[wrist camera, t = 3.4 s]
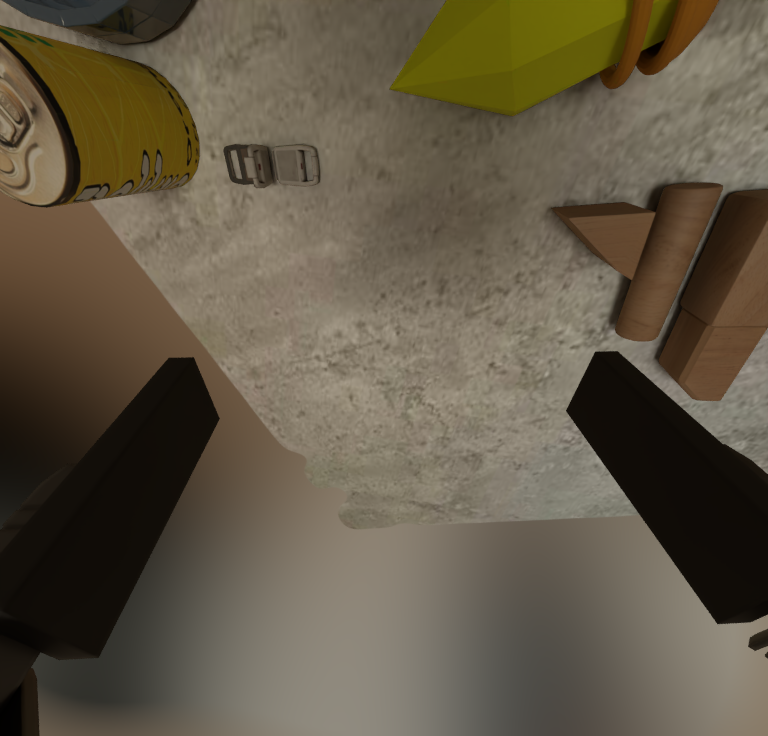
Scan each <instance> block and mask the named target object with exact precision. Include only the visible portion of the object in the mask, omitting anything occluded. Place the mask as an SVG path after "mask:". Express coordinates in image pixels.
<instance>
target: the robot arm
mask: <svg viewBox="0 0 768 736" xmlns="http://www.w3.org/2000/svg"><path fill="white" fill-rule="evenodd" d="M566 412H567V413H568V414H569V416H570V417H571V419H572V420H573V421H574V423H575V424H576V426H577V427H578V428H579V430H580V431H581V433H582V434H583V435H584V437H585V438H586V440H587V441H588V443H589V444H590V445H591V447H592V448H593V450H594V451H595V452H596V454H597V455H598V457H599V458H600V459H601V461H602V462H603V464H604V465H605V466H606V468H607V469H608V471H609V472H610V473H611V475H612V476H613V478H614V479H615V480H616V482H617V483H618V485H619V486H620V488H621V489H622V490H623V492H624V493H625V495H626V496H627V497H628V499H629V500H630V502H631V503H632V504H633V506H634V507H635V509H636V510H637V511H638V513H639V514H640V516H641V517H642V518H643V520H644V521H645V523H646V524H647V525H648V527H649V528H650V530H651V531H652V532H653V534H654V535H655V537H656V538H657V540H658V541H659V542H660V544H661V545H662V547H663V548H664V549H665V551H666V552H667V554H668V555H669V556H670V558H671V559H672V561H673V562H674V563H675V565H676V566H677V568H678V569H679V571H680V572H681V573H682V575H683V576H684V578H685V579H686V580H687V582H688V583H689V585H690V586H691V587H692V589H693V590H694V592H695V593H696V594H697V596H698V597H699V599H700V600H701V602H702V603H703V604H704V606H705V607H706V608H707V610H708V611H709V613H710V614H711V616H712V617H713V618H714V619H715V621H716V623H717V624H726V623H727V624H728V623H745V622H752V621H754V620H757V619H759V618H761V617H763V616H765V615H768V474H767V473H766V472H764V471H763V470H762V469H761V468H760V467H759V466H757V465H756V464H755V463H754V462H753V461H752V460H750V459H749V458H747V457H745V456H744V455H742V454H740V453H739V452H737V451H735V450H734V449H732V448H730V447H729V446H727V445H726V444H722V443H721V442H720V441H719V440H717V439H716V438H715V437H714V436H713V435H712V434H711V433H709V432H708V431H707V430H706V429H705V428H704V427H703V426H702V425H700V424H699V423H698V422H697V421H696V420H695V419H694V418H692V417H691V416H690V415H689V414H688V413H687V412H686V411H685V410H683V409H682V408H681V407H680V406H679V405H678V404H677V403H675V402H674V401H673V400H672V399H671V398H670V397H669V396H668V395H666V394H665V393H664V392H663V391H662V390H661V389H660V388H658V387H657V386H656V385H655V384H654V383H653V382H652V381H651V380H649V379H648V378H647V377H646V376H645V375H644V374H643V373H641V372H640V371H639V370H638V369H637V368H636V367H635V366H634V365H632V364H631V363H630V362H629V361H628V360H627V359H626V358H624V357H623V356H622V355H621V354H620V353H619V352H618V351H607V352H595V353H594V355H593V357H592V359H591V361H590V363H589V366H588V368H587V370H586V372H585V374H584V376H583V378H582V380H581V382H580V384H579V386H578V388H577V390H576V392H575V394H574V396H573V398H572V400H571V402H570V404H569V406H568V408H567V410H566ZM219 419H220V418H219V416H218V414H217V411H216V409H215V407H214V404H213V402H212V399H211V397H210V395H209V392H208V390H207V388H206V385H205V383H204V380H203V378H202V376H201V374H200V371H199V369H198V366H197V364H196V362H195V359H194V357H192V358H168V360H167V361H166V362H165V363H164V364H163V365H162V366H161V368H160V369H159V370H158V371H157V372H156V373H155V375H154V376H153V377H152V378H151V379H150V380H149V381H148V383H147V384H146V385H145V386H144V387H143V388H142V390H141V391H140V392H139V393H138V394H137V396H136V397H135V398H134V399H133V400H132V401H131V403H129V405H128V406H127V407H126V408H125V409H124V410H123V412H122V413H121V414H120V415H119V416H118V418H117V419H116V420H115V421H114V422H113V423H112V424H111V426H110V427H109V428H108V429H107V430H106V431H105V433H104V434H103V435H102V436H101V437H100V438H99V440H98V441H97V442H96V443H95V444H94V445H93V446H92V448H91V449H90V450H89V451H88V452H87V453H86V454H85V456H84V457H83V458H82V459H81V460H80V462H79V463H78V464H67V465H65V466H64V467H63V468H61V469H60V470H58V471H57V472H56V473H54V474H53V475H51V476H50V477H49V478H47V479H46V480H45V481H43V482H42V483H41V484H40V485H39V486H38V487H37V488H36V489H35V490H34V491H33V492H32V494H31V495H30V496H29V497H28V498H27V499H26V500H25V501H24V502H23V504H21V508H20V509H19V510H16V511H15V512H14V513H13V514H12V515H11V516H10V517H9V519H8V520H7V521H6V522H5V523H4V524H3V528H2V529H1V530H0V736H39V716H38V692H37V678H36V675H35V672H34V670H33V668H31V666H32V665H33V663H34V662H35V660H36V658H37V657H38V655H39V654H40V652H41V653H44V654H46V655H48V656H51V657H54V658H56V659H58V660H66V659H84V658H99V656H100V654H101V652H102V650H103V648H104V646H105V644H106V642H107V640H108V638H109V636H110V634H111V632H112V630H113V628H114V626H115V624H116V622H117V620H118V618H119V616H120V614H121V612H122V611H123V609H124V606H125V604H126V603H127V601H128V599H129V597H130V594H131V593H132V591H133V589H134V586H135V585H136V583H137V581H138V579H139V577H140V575H141V573H142V571H143V569H144V567H145V565H146V563H147V561H148V559H149V557H150V555H151V553H152V551H153V549H154V547H155V545H156V543H157V541H158V539H159V537H160V535H161V534H162V531H163V530H164V527H165V526H166V524H167V522H168V520H169V518H170V516H171V514H172V512H173V510H174V508H175V506H176V504H177V502H178V500H179V498H180V496H181V494H182V492H183V490H184V488H185V486H186V484H187V482H188V480H189V478H190V476H191V474H192V472H193V470H194V468H195V466H196V464H197V462H198V460H199V458H200V457H201V454H202V453H203V451H204V449H205V446H206V444H207V443H208V441H209V439H210V437H211V435H212V433H213V431H214V429H215V427H216V425H217V423H218V421H219ZM766 646H768V629H767V630H764V631H762V632H759V633H757V634H755V635H754V636H752V637H750V640H749V645H748V647H750V648H751V649H753V650H755V651H756V650H758V649H761V648H763V647H766ZM765 657H766V658H768V652H767V653H766V654H765Z"/></svg>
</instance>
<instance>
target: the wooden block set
mask: <svg viewBox="0 0 768 736" xmlns="http://www.w3.org/2000/svg"><path fill="white" fill-rule="evenodd" d="M722 190H723V185H721V184H717V183H680V184H673V185H669V186H667V187H665V189H664V190H663V192H662V195H661V198H660V201H659V204H658V207H657V210H656V212H653V211H650V210H647V209H644V208H641V207H638V206H635V205H631V204H628V203H625V202H621V203H607V204H594V205H580V206H567V207H554V208H551V209H552V210H553V211H554V212H555V213H556V214H557V215H558V216H559V217H560V218H561V219H562V220H563V222H564V223H565V224H566V225H567V226H568V227H569V228H570V229H571V230H572V231H573V232H574V233H575V234H576V235H577V237H578V238H579V239H580V240H581V241H582V242H583V243H584V244H585V245H586V246H587V247H588V248H589V249H590V251H591V252H592V253H594V254H595V255H596V256H598V257H599V258H600V259H602V260H603V261H605V262H606V263H607V264H609V265H610V266H611V267H613V268H614V269H615V270H617V271H618V272H620V273H621V274H623V275H625V276H626V277H628V278H629V279H631V280H632V281H631V284H630V287H629V290H628V293H627V295H626V298H625V301H624V304H623V307H622V310H621V313H620V316H619V318H618V321H617V324H616V327H615V331H616V333H617V334H618V335H619V336H621V337H623V338H626V339H629V340H633V341H652V340H654V339H656V338H657V337H658V335H659V333H660V331H661V328H662V326H663V324H664V322H665V319H666V317H667V315H668V313H669V310H670V308H671V306H672V303H673V301H674V299H675V297H676V294H677V292H678V290H679V288H680V285H681V283H682V281H683V279H684V276H685V274H686V272H687V269H688V267H689V265H690V263H691V260H692V258H693V256H694V254H695V251H696V249H697V247H698V244H699V242H700V240H701V238H702V235H703V233H704V231H705V229H706V226H707V224H708V222H709V219H710V217H711V215H712V213H713V210H714V208H715V206H716V204H717V201H718V199H719V197H720V195H721V192H722ZM680 304H681V306H682V307H683V309H682V310H681V313H680V315H679V317H678V319H677V321H676V323H675V325H674V328H673V330H672V332H671V334H670V336H669V338H668V341H667V343H666V345H665V347H664V349H663V351H662V354H661V356H660V358H659V364H660V365H661V366H662V367H663V368H664V369H665V370H666V372H667V373H668V374H669V375H670V376H671V377H672V378H673V379H674V380H675V381H676V382H677V383H678V384H679V385H680V387H681V388H682V389H683V390H684V391H685V392H686V393H687V394H688V395H689V396H690V397H691V398H692V399H695V400H702V401H720V400H721V399H722V397H723V396H724V394H725V393H726V391H727V390H728V388H729V387H730V385H731V384H732V382H733V381H734V379H735V377H736V376H737V374H738V373H739V371H740V370H741V368H742V367H743V365H744V364H745V362H746V360H747V359H748V357H749V356H750V354H751V353H752V351H753V350H754V348H755V347H756V345H757V344H758V342H759V340H760V339H761V337H762V336H763V334H764V333H765V331H766V330H767V328H768V189H764V190H751V191H739V192H736V193H733V194H730V195H729V197H728V198H727V200H726V202H725V204H724V206H723V209H722V211H721V213H720V215H719V217H718V220H717V222H716V224H715V226H714V228H713V231H712V233H711V235H710V237H709V239H708V242H707V244H706V246H705V248H704V250H703V253H702V255H701V257H700V259H699V261H698V264H697V266H696V268H695V270H694V272H693V275H692V277H691V279H690V281H689V283H688V286H687V288H686V290H685V292H684V294H683V297H682V299H681V302H680Z"/></svg>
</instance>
